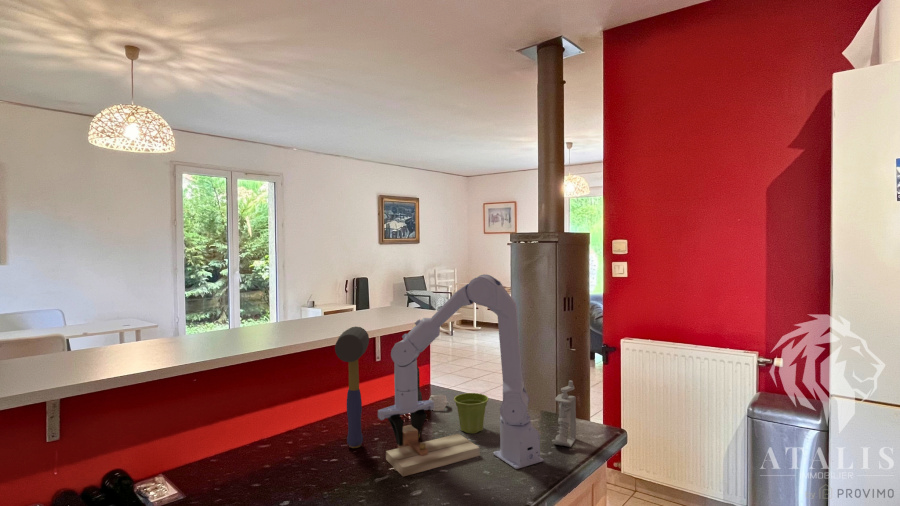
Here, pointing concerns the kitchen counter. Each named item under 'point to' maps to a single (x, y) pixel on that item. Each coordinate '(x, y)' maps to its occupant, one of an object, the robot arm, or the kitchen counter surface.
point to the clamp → (566, 416)
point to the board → (432, 454)
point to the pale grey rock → (439, 402)
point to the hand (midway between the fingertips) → (407, 442)
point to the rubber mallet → (353, 378)
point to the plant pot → (471, 411)
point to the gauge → (413, 440)
